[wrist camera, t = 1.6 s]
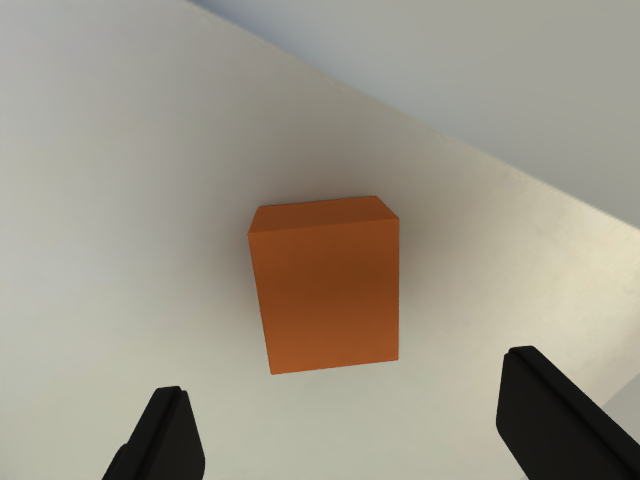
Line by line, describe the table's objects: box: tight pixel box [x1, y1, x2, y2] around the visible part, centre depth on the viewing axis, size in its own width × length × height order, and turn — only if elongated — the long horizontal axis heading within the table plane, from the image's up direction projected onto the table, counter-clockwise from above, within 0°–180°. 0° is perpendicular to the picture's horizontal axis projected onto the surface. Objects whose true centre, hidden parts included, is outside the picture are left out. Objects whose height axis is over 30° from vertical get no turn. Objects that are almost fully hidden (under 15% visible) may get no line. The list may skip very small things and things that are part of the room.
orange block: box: [248, 196, 399, 375], centre depth 16 cm, size 7×6×4 cm
